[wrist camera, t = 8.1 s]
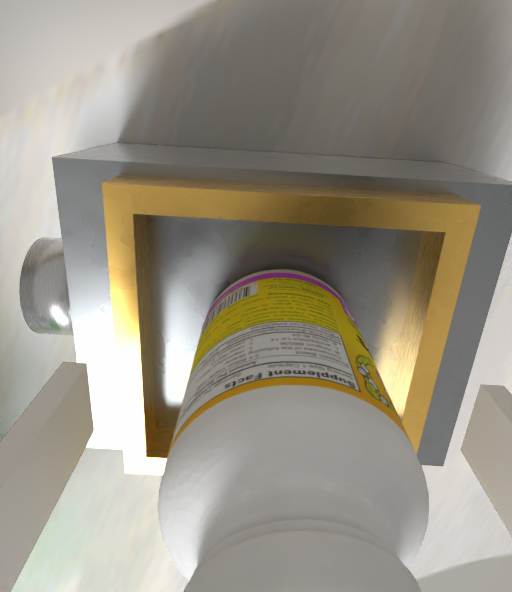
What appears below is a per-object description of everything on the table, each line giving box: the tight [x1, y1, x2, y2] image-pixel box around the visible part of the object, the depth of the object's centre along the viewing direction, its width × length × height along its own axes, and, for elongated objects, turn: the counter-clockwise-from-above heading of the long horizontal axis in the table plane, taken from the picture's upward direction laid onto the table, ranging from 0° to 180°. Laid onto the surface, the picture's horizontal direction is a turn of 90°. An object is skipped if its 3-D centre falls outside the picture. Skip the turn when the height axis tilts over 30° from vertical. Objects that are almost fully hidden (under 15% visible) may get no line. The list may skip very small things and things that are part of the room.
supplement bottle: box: [158, 269, 429, 592], centre depth 13 cm, size 7×7×13 cm
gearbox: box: [20, 142, 512, 475], centre depth 22 cm, size 21×14×10 cm, turn 87°
